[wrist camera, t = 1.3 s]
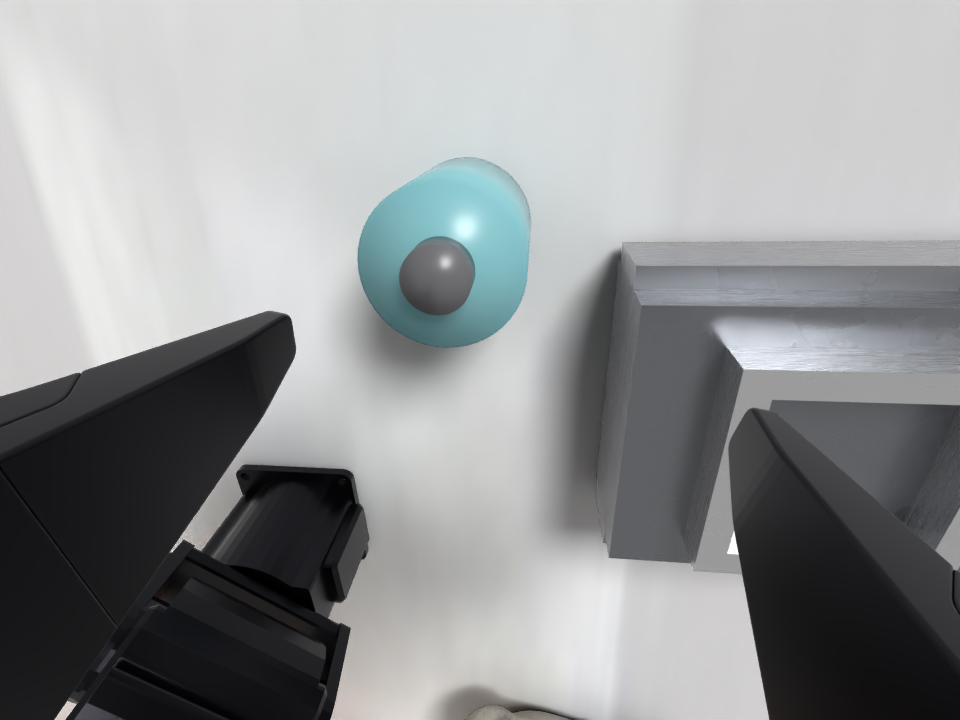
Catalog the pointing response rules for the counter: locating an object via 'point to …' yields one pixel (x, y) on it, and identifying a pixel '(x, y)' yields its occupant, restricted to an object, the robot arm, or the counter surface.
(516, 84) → the counter surface
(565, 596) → the counter surface
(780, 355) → the square aluminium tube flange
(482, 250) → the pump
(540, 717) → the pipe
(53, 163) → the counter surface
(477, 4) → the counter surface
